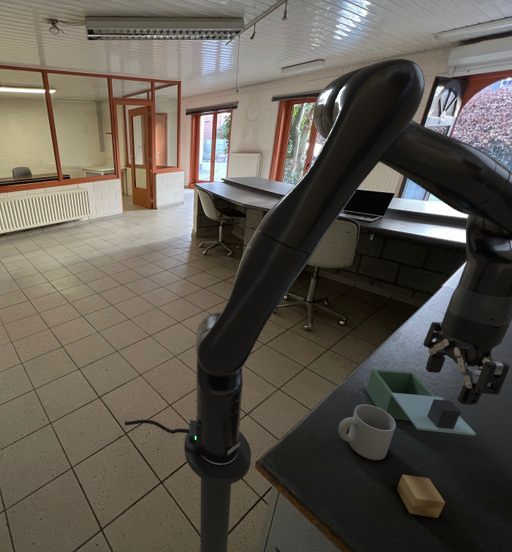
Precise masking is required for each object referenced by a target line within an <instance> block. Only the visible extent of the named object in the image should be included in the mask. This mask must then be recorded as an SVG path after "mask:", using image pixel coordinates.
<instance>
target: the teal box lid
mask: <svg viewBox="0 0 512 552" xmlns="http://www.w3.org/2000/svg"><path fill="white" fill-rule="evenodd" d="M391 395H392V396H393V397H394V399H395V400H396V401H397V403H398V404H399V405H400V407H401V408H402V409H403V411H404V412H405V413H406V415H407V416H408V417H409V419H410V420H411V421H410V422H411V423H412V424H413V425H414V427H415V428H416V430H420V431H428V432H438V433H447V434H456V435H465V436H476V435H477V433H476V432H475V431H474V429H472V428H471V427H470V425H469V424H468V423H467V422H466V421H465V420H464V419H463V418H462V417H461V412H462V411H461V410H460V409H459V408H458V407H457V406H456V405H455V404H454V403H453V402H452V401H451V400H447V399H444V398H443V397H442V396H436V397H434V396H423V395H412V394H400V393H392V394H391Z"/></svg>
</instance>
